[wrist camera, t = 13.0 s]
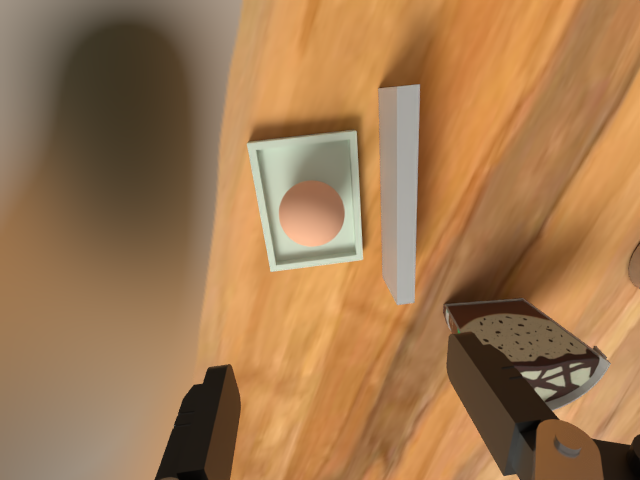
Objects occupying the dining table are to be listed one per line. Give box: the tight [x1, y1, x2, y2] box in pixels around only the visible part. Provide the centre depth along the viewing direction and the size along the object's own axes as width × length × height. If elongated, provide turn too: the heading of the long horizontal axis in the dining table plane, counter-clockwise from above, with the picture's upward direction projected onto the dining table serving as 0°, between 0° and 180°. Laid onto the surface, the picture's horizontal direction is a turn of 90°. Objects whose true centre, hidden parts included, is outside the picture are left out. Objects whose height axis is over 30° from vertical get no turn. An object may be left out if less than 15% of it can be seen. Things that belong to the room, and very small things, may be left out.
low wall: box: [378, 84, 420, 305], centre depth 28 cm, size 2×18×5 cm, turn 5°
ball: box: [279, 180, 345, 247], centre depth 27 cm, size 6×6×6 cm
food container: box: [443, 298, 611, 411], centre depth 33 cm, size 12×6×10 cm, turn 91°
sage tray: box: [247, 130, 363, 272], centre depth 29 cm, size 9×12×1 cm
